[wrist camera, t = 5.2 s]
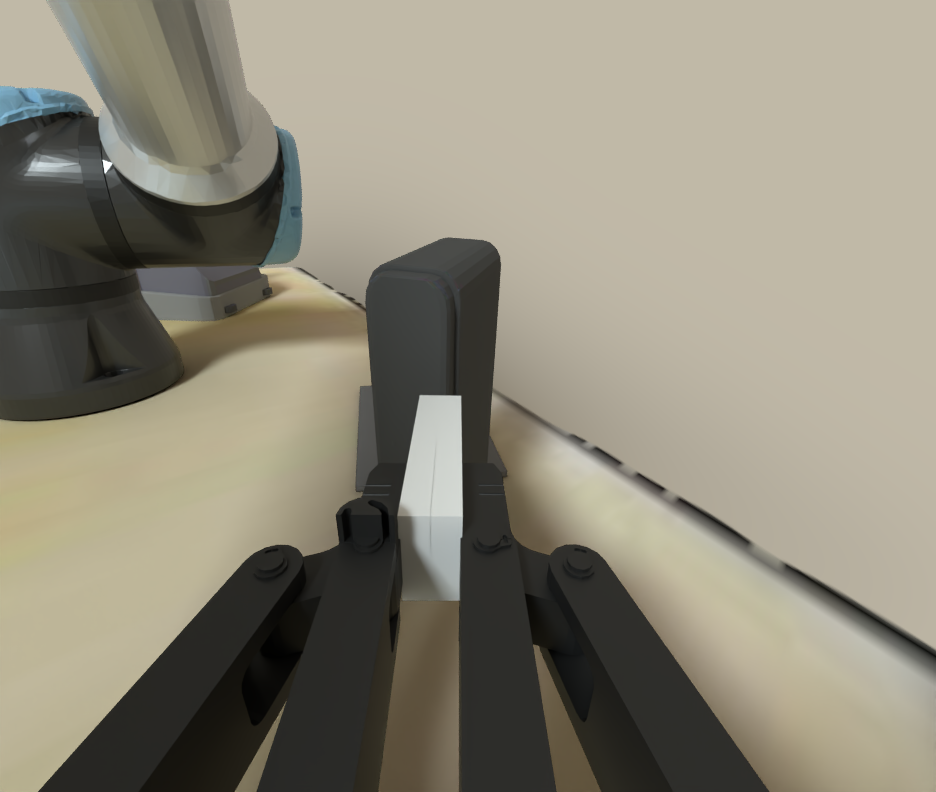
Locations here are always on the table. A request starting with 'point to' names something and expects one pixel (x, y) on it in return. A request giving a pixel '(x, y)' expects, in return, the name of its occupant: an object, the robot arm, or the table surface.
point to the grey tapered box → (201, 291)
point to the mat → (368, 442)
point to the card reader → (433, 341)
